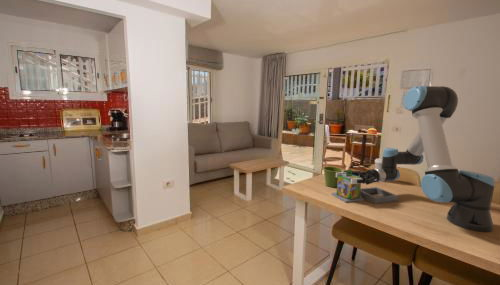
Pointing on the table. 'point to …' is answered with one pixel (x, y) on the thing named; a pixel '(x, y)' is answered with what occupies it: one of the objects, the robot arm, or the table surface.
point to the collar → (385, 195)
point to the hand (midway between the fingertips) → (343, 178)
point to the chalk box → (348, 186)
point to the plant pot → (331, 176)
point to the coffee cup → (378, 163)
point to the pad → (348, 199)
